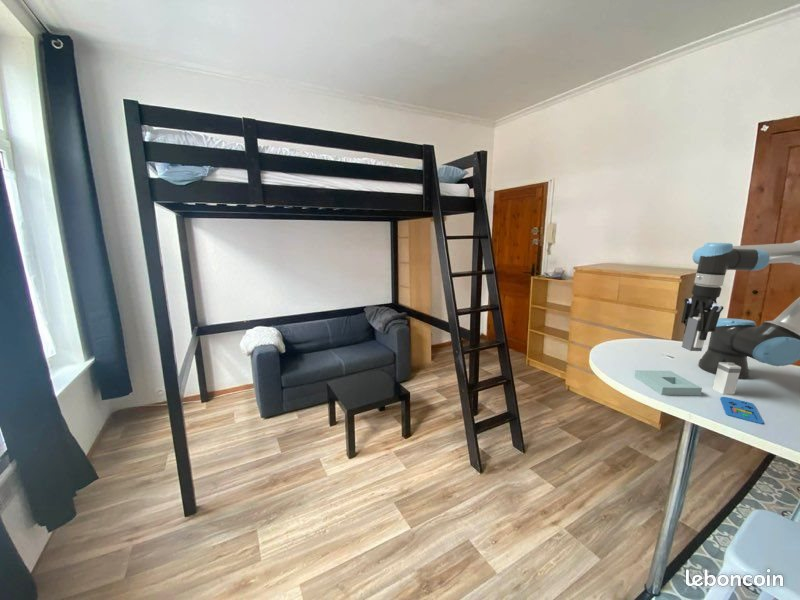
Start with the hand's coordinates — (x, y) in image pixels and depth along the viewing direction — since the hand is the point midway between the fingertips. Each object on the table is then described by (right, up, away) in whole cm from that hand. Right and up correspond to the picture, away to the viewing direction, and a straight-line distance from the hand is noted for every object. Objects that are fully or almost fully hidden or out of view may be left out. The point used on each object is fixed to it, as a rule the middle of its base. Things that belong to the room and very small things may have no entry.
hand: (692, 344), depth 118 cm
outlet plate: (-9, -16, +2) cm, 19 cm away
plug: (0, -2, 0) cm, 2 cm away
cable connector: (+9, -17, -3) cm, 20 cm away
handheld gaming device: (+3, -20, -14) cm, 25 cm away
